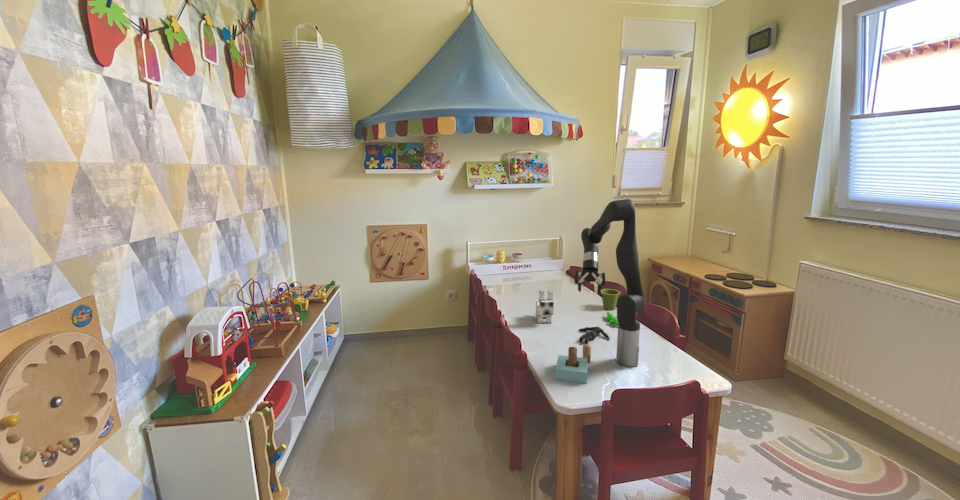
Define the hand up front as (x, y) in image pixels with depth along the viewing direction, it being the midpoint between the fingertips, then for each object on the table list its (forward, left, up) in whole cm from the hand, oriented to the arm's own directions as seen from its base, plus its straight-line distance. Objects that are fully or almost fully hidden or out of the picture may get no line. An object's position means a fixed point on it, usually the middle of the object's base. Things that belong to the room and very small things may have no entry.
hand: (589, 291), depth 186 cm
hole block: (+6, +24, -31) cm, 39 cm away
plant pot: (-13, -64, -31) cm, 73 cm away
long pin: (+6, +24, -31) cm, 39 cm away
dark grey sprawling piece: (-2, -18, -31) cm, 36 cm away
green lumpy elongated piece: (-14, -41, -31) cm, 53 cm away
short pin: (0, +11, -31) cm, 32 cm away
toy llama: (+25, -33, -31) cm, 52 cm away
